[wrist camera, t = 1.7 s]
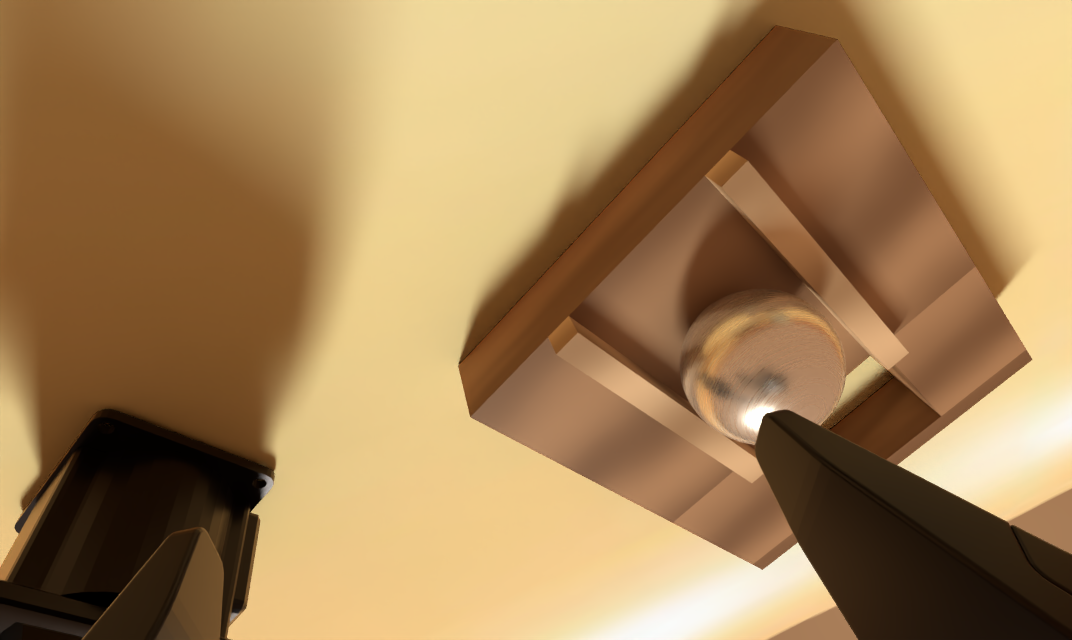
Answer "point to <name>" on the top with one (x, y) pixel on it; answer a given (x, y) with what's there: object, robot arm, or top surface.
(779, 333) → the steel ball
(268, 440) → the top surface
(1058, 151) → the top surface
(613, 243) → the hole deck
